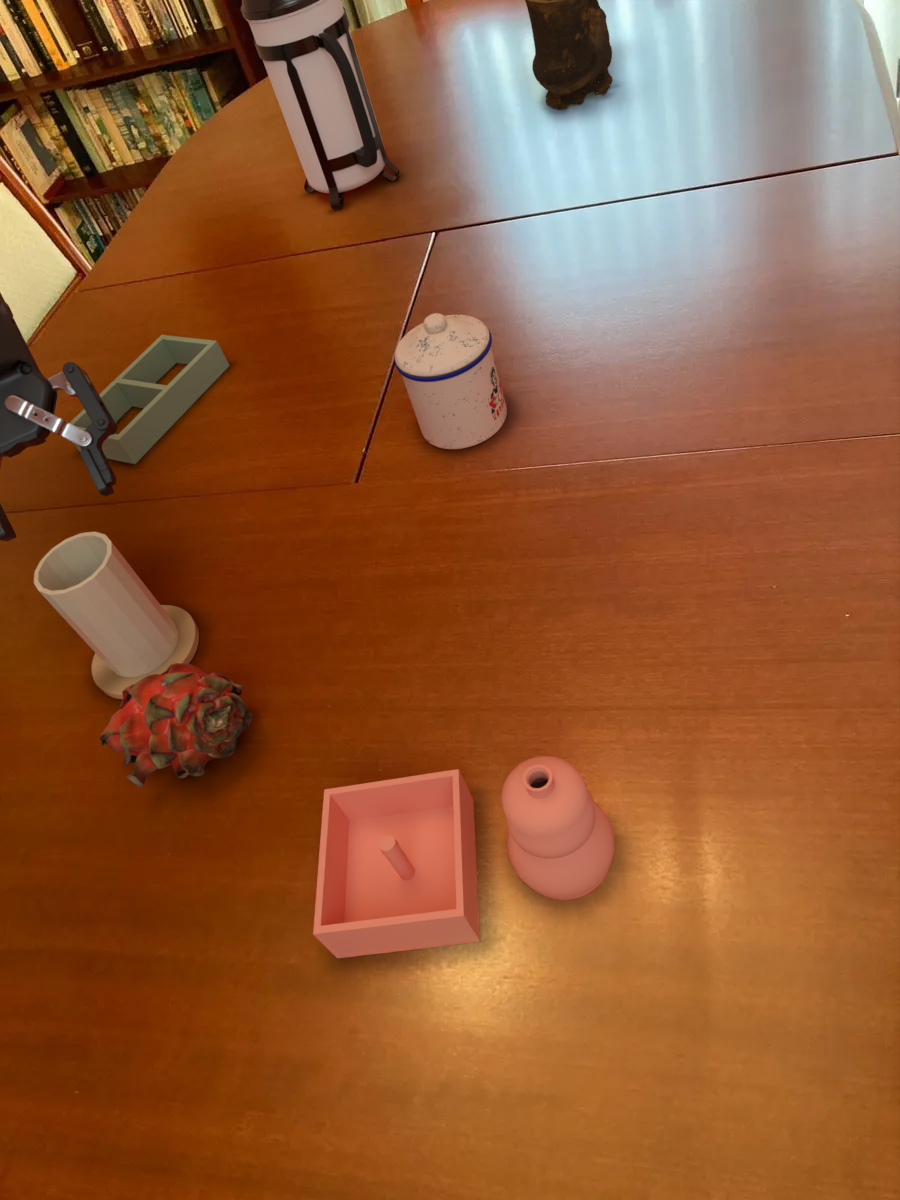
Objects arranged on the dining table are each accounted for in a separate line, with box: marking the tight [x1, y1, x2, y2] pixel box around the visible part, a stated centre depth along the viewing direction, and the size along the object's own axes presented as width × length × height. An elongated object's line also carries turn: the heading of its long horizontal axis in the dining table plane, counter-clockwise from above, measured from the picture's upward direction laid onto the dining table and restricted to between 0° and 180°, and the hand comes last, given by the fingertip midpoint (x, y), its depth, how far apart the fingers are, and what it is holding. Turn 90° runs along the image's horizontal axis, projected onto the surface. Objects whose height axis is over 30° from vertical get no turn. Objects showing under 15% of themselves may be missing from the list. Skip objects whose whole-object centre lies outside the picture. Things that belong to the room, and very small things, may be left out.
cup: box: [33, 531, 179, 678], centre depth 72 cm, size 6×6×11 cm
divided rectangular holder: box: [69, 334, 231, 465], centre depth 101 cm, size 9×18×4 cm, turn 151°
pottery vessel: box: [524, 0, 613, 111], centre depth 123 cm, size 25×11×20 cm, turn 172°
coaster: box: [91, 604, 200, 700], centre depth 76 cm, size 10×10×1 cm
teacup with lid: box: [394, 312, 508, 450], centre depth 83 cm, size 12×9×12 cm
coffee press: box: [240, 0, 400, 211], centre depth 117 cm, size 17×16×30 cm
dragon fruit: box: [98, 663, 254, 788], centre depth 66 cm, size 8×8×12 cm
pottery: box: [312, 755, 616, 959], centre depth 53 cm, size 18×10×10 cm, turn 91°
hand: (58, 516), depth 71 cm, fingers open, 8 cm apart
